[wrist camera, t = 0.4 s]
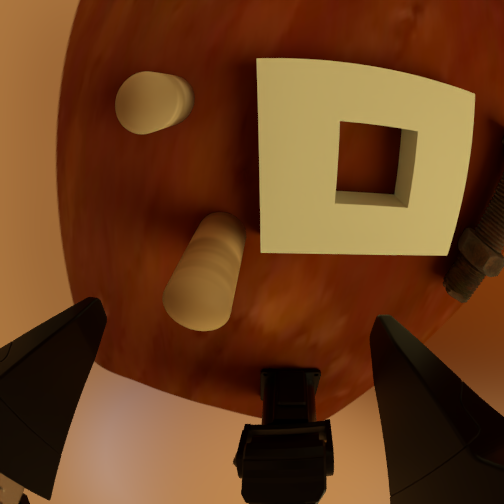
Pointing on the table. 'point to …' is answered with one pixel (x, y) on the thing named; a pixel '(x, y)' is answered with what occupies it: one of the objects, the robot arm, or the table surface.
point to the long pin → (207, 274)
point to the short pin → (153, 102)
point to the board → (326, 158)
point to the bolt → (479, 250)
